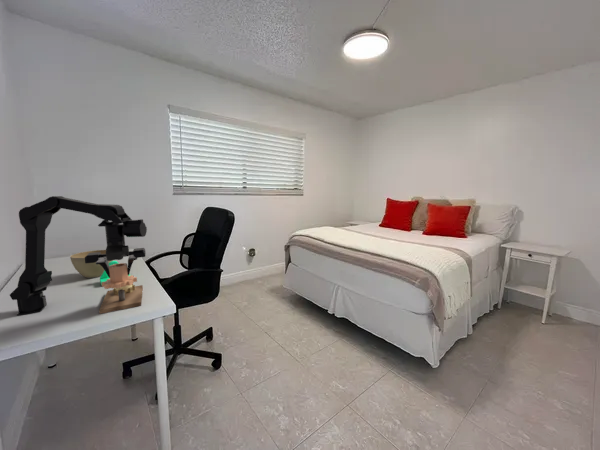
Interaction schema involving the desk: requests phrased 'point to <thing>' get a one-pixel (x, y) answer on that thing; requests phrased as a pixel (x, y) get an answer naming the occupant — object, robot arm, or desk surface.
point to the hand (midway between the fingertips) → (119, 276)
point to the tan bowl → (87, 264)
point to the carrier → (122, 298)
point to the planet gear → (118, 277)
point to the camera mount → (104, 275)
